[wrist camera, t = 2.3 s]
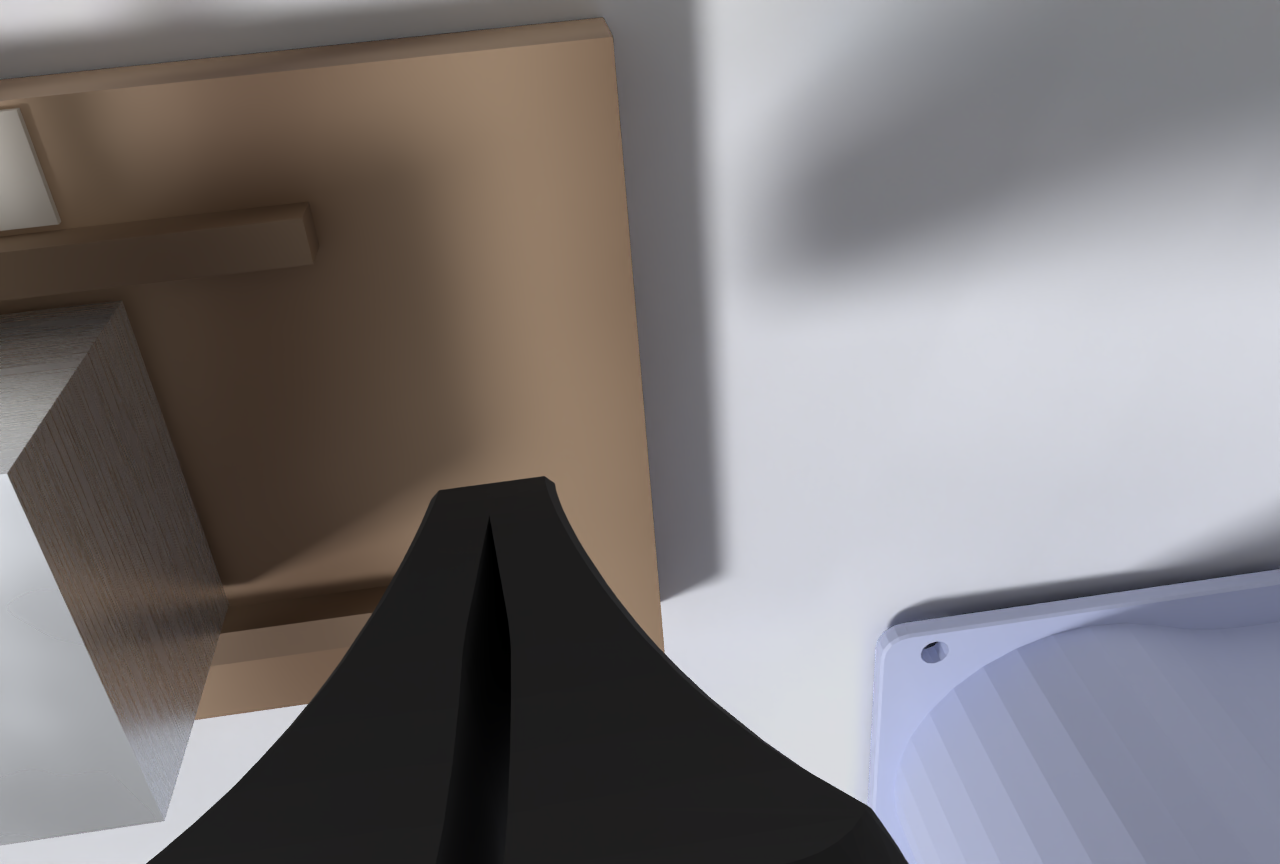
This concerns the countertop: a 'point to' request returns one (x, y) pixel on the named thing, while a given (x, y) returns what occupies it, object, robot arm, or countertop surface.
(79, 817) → the brushed steel box
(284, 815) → the robot arm
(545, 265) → the rail board
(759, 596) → the countertop surface
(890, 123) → the countertop surface
